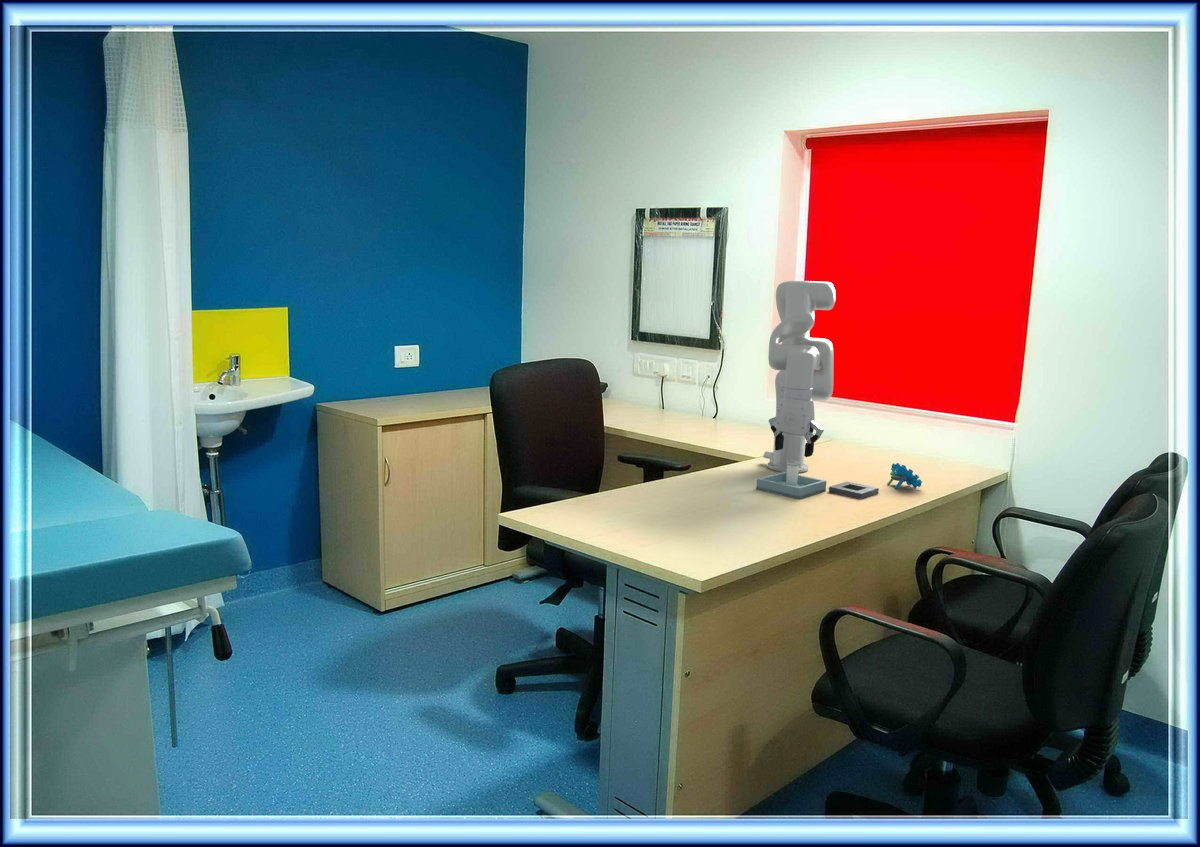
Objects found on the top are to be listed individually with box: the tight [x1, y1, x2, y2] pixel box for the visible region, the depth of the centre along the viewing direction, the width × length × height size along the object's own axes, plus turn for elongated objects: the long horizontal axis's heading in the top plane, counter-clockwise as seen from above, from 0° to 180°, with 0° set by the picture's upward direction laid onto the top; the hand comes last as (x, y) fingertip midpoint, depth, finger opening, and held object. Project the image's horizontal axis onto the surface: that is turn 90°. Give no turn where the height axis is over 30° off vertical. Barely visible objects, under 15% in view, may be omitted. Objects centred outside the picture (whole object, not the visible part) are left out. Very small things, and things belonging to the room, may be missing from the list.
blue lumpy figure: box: [886, 462, 923, 490], centre depth 262 cm, size 11×6×10 cm
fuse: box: [786, 460, 800, 487], centre depth 254 cm, size 4×4×8 cm
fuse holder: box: [828, 481, 880, 500], centre depth 254 cm, size 10×10×2 cm
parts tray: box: [755, 472, 827, 500], centre depth 255 cm, size 14×14×3 cm
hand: (793, 452), depth 254 cm, fingers open, 9 cm apart
